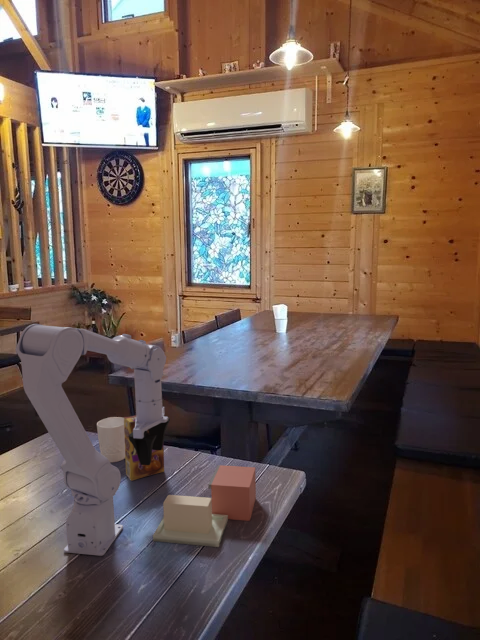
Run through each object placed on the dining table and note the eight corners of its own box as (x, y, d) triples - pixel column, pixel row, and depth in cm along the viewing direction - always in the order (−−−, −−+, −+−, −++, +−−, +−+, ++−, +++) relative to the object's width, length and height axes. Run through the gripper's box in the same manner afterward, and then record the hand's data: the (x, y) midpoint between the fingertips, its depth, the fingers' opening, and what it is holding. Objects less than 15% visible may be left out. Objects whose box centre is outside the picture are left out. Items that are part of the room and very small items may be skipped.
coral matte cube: (249, 520, 100) (249, 487, 99) (209, 517, 101) (208, 484, 100) (255, 498, 108) (255, 467, 107) (218, 495, 110) (217, 465, 109)
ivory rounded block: (208, 533, 94) (207, 506, 94) (164, 530, 96) (163, 503, 95) (212, 524, 98) (211, 497, 97) (169, 521, 99) (168, 494, 98)
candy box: (131, 482, 117) (128, 422, 115) (125, 475, 120) (122, 416, 118) (165, 472, 122) (163, 414, 119) (158, 466, 125) (155, 409, 123)
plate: (218, 547, 91) (218, 541, 91) (153, 541, 93) (152, 535, 93) (228, 520, 100) (227, 515, 100) (167, 515, 102) (167, 510, 102)
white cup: (135, 455, 132) (133, 420, 131) (113, 466, 126) (111, 429, 124) (114, 449, 136) (112, 415, 135) (92, 459, 130) (90, 424, 128)
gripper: (155, 410, 98) (157, 472, 100) (176, 389, 112) (178, 444, 114) (122, 408, 99) (125, 470, 101) (147, 388, 113) (149, 442, 115)
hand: (151, 456), depth 108 cm, fingers open, 7 cm apart
